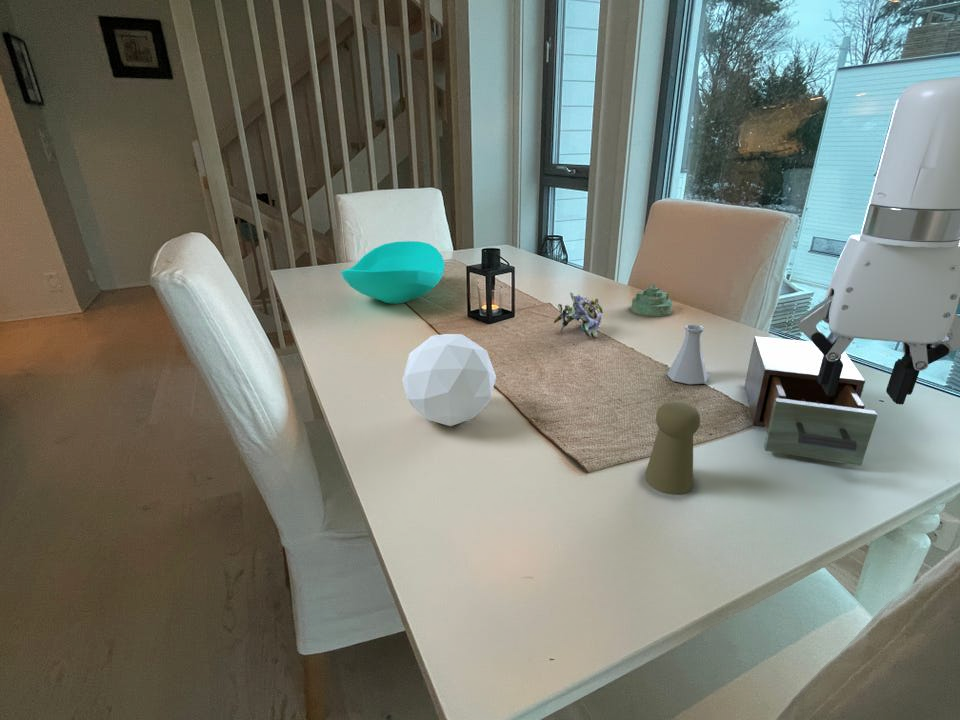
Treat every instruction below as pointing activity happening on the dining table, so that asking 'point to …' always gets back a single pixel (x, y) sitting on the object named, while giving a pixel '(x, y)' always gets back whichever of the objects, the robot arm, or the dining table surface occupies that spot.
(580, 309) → the passion flower
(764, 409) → the drawer
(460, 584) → the dining table surface
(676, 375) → the flask
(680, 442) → the olive pawn
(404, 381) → the geometric sphere
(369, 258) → the table top decor
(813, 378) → the cabinet
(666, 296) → the decorative artifact
